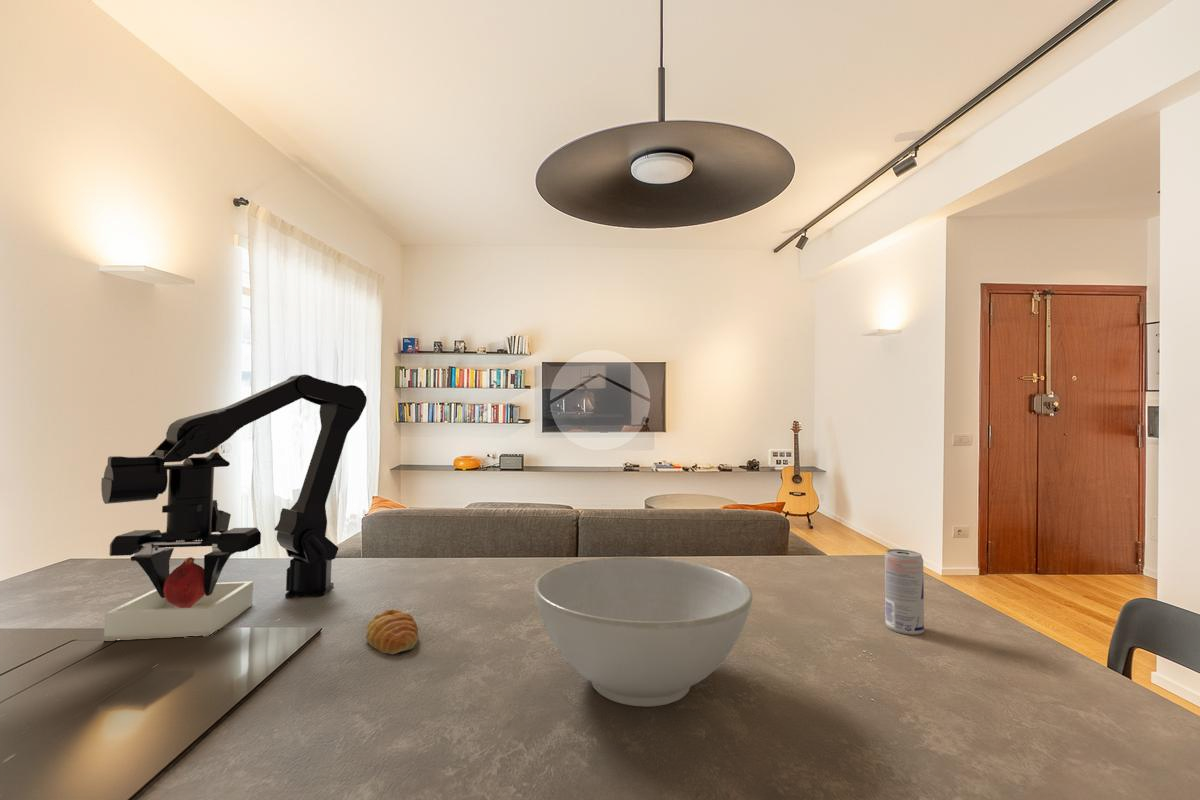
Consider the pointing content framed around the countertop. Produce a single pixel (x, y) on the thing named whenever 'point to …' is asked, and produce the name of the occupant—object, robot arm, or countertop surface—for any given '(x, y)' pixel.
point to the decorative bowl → (642, 623)
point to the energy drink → (904, 591)
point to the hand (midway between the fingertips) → (186, 596)
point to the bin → (179, 613)
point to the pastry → (392, 632)
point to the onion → (185, 584)
